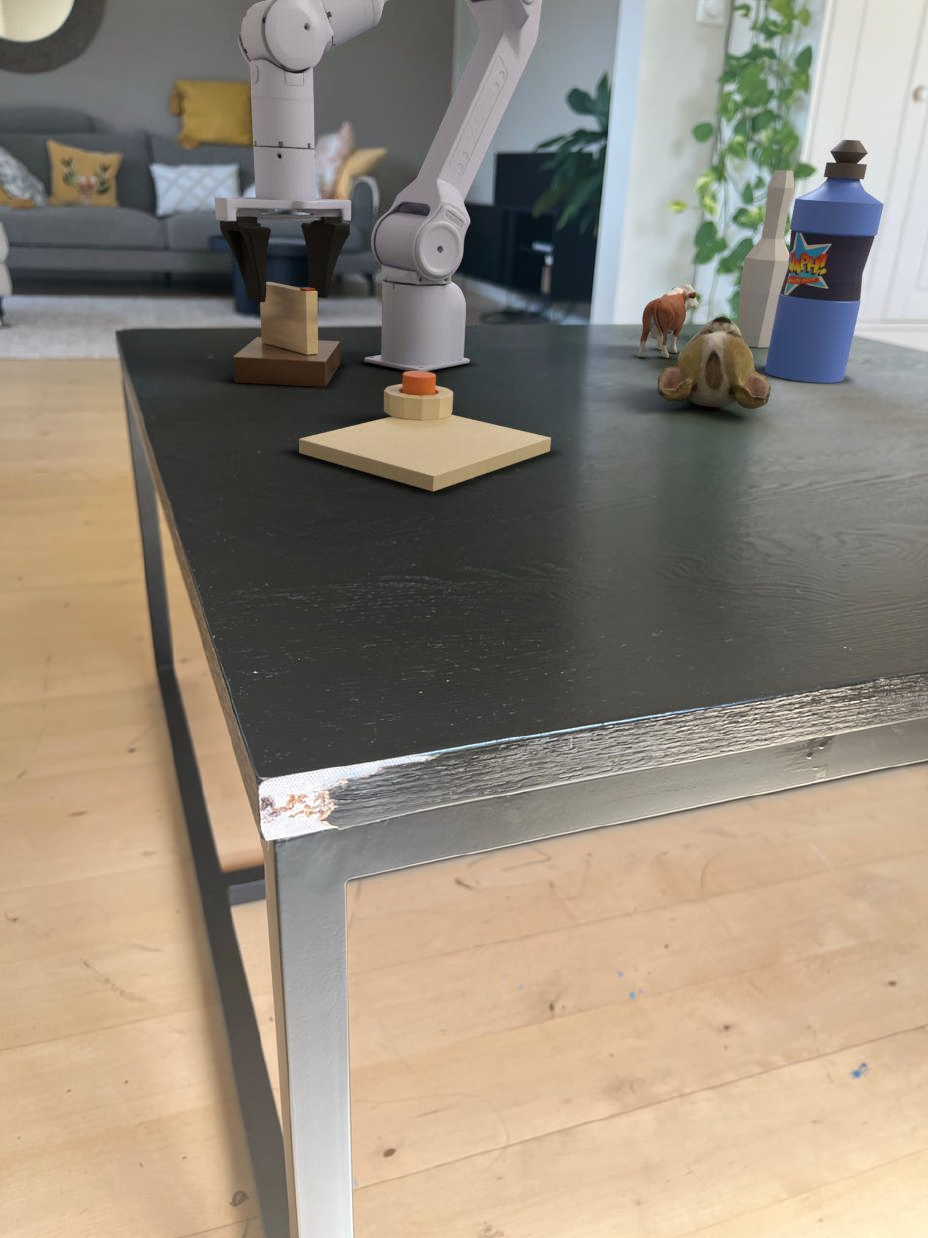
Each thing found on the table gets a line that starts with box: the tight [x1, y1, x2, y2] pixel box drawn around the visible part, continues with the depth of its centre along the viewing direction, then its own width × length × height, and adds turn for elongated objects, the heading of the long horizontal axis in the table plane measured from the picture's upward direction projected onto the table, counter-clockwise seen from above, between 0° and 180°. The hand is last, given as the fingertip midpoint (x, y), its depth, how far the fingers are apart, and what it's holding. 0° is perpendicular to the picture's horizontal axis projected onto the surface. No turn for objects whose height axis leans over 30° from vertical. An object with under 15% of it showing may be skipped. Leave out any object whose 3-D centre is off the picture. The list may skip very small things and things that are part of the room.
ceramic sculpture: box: [657, 316, 772, 410], centre depth 94 cm, size 11×9×15 cm
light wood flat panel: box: [259, 281, 319, 355], centre depth 97 cm, size 8×1×6 cm, turn 45°
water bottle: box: [764, 139, 885, 384], centre depth 108 cm, size 9×9×25 cm
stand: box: [232, 336, 341, 388], centre depth 98 cm, size 12×9×2 cm
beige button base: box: [298, 383, 552, 492], centre depth 75 cm, size 16×15×3 cm
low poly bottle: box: [737, 169, 795, 348], centre depth 128 cm, size 6×6×22 cm
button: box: [401, 371, 437, 396], centre depth 80 cm, size 3×3×2 cm
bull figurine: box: [637, 283, 700, 359], centre depth 120 cm, size 4×13×8 cm, turn 148°
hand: (288, 298), depth 96 cm, fingers open, 7 cm apart
